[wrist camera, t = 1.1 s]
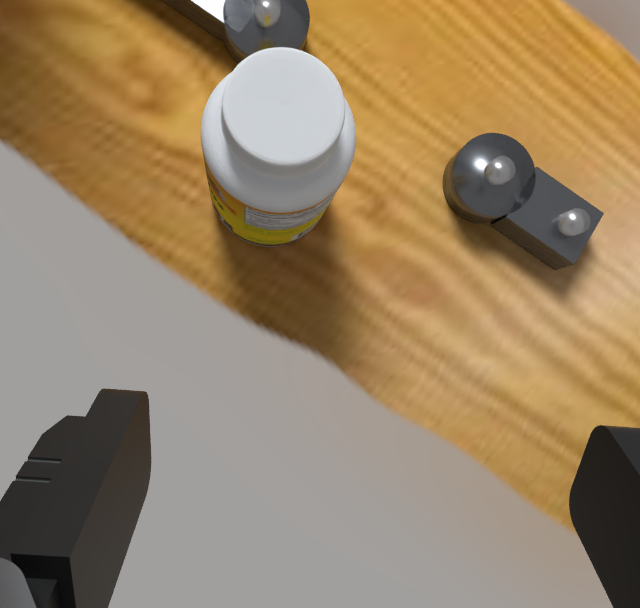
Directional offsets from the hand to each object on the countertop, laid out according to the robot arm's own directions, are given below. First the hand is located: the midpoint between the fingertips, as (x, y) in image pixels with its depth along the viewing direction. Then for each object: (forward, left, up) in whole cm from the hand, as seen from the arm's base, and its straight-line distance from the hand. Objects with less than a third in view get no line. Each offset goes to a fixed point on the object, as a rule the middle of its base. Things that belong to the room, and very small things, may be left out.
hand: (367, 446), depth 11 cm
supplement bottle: (-6, +8, -18) cm, 20 cm away
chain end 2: (+5, +14, -18) cm, 23 cm away
